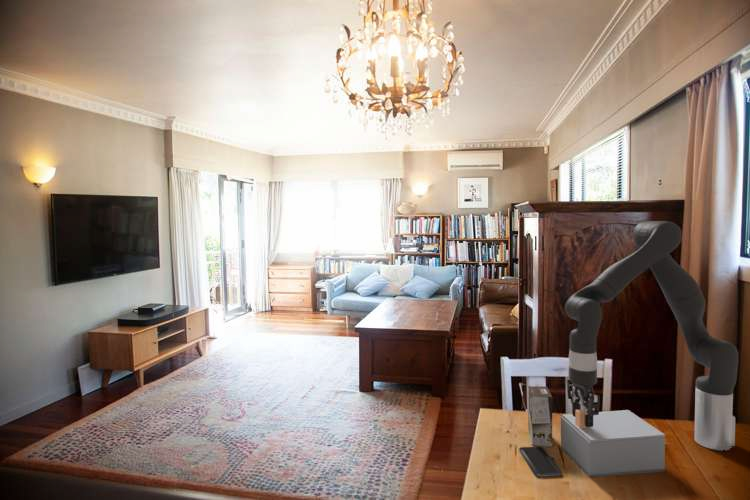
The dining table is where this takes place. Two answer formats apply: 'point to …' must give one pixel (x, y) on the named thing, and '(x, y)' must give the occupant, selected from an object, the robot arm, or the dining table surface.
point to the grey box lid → (612, 426)
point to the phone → (540, 462)
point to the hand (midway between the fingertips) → (582, 420)
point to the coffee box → (540, 415)
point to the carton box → (613, 453)
